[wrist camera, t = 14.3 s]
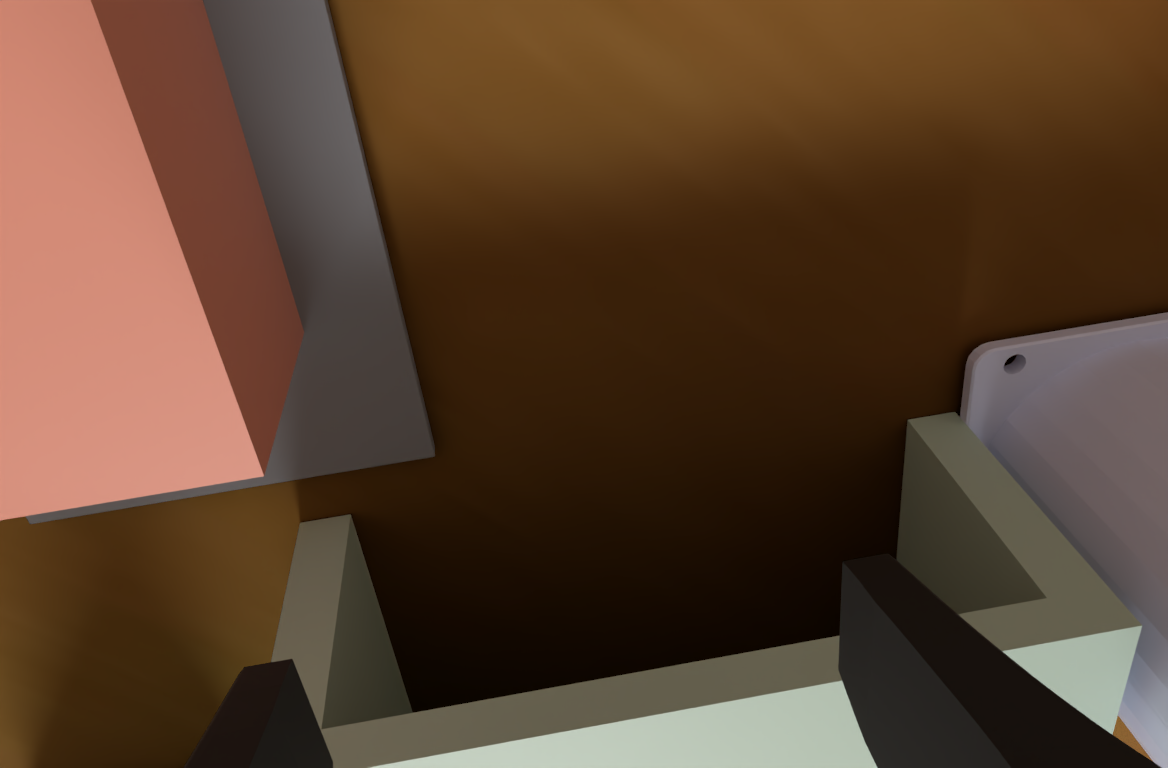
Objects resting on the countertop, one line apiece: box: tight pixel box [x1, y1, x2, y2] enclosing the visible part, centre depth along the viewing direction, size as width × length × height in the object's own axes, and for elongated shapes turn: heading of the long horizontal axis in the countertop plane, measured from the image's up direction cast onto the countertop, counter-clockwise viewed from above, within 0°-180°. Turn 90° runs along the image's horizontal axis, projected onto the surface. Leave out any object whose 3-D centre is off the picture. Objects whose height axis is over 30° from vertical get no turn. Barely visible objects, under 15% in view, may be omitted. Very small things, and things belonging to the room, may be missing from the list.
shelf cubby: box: [271, 412, 1142, 768], centre depth 22 cm, size 16×9×7 cm, turn 96°
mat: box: [26, 0, 435, 524], centre depth 16 cm, size 9×18×1 cm, turn 6°
